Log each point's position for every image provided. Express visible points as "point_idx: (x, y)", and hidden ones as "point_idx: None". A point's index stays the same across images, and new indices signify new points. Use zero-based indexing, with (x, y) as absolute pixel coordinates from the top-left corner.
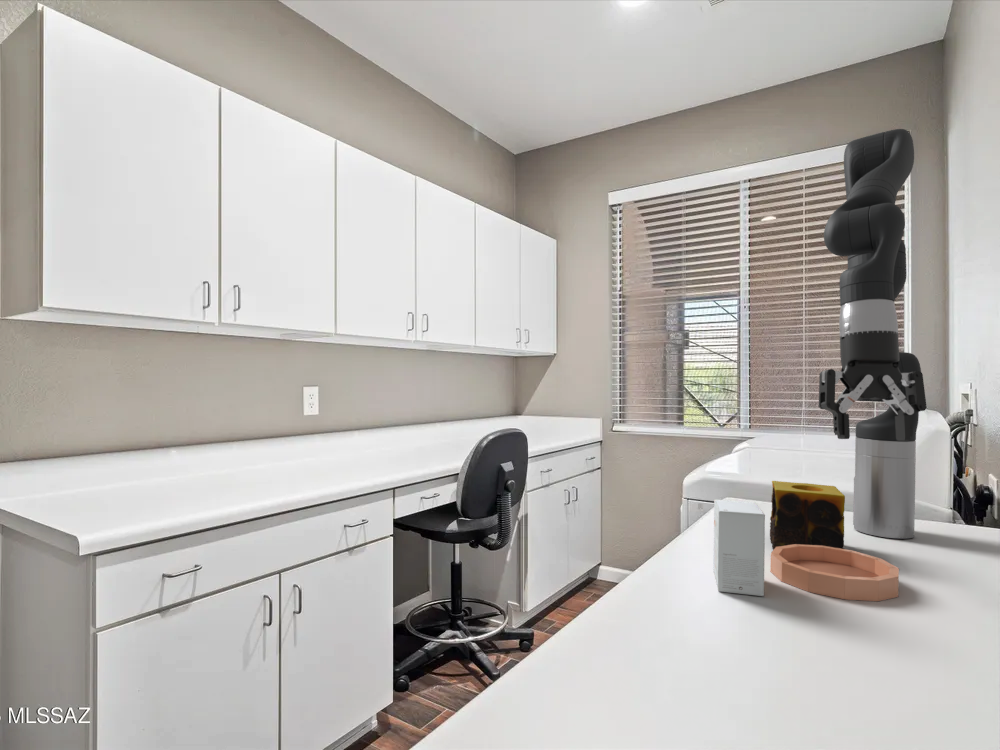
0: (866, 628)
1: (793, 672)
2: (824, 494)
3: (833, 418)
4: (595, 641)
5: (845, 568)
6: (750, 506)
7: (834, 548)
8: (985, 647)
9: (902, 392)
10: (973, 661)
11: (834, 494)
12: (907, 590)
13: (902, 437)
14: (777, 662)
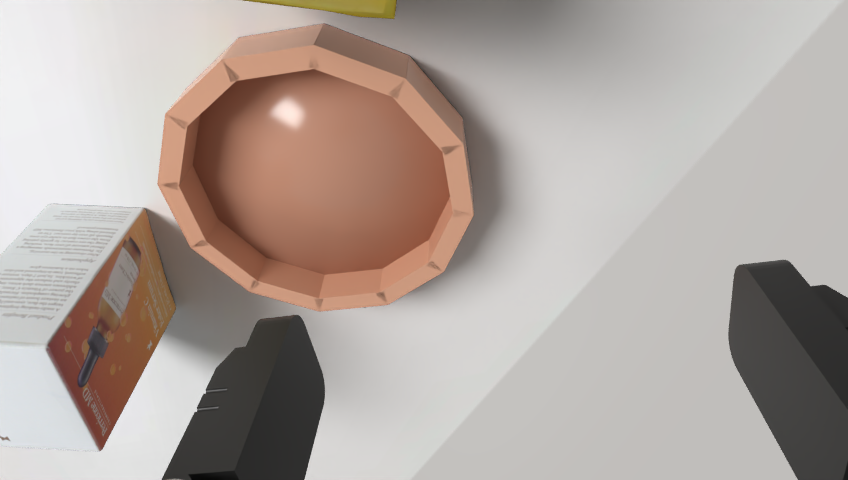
0: (333, 373)
1: None
2: (294, 5)
3: (173, 464)
4: (6, 459)
5: (372, 111)
6: (48, 401)
7: (348, 71)
8: (484, 389)
9: None
10: (441, 422)
11: (344, 4)
12: (486, 196)
13: (740, 338)
14: None
